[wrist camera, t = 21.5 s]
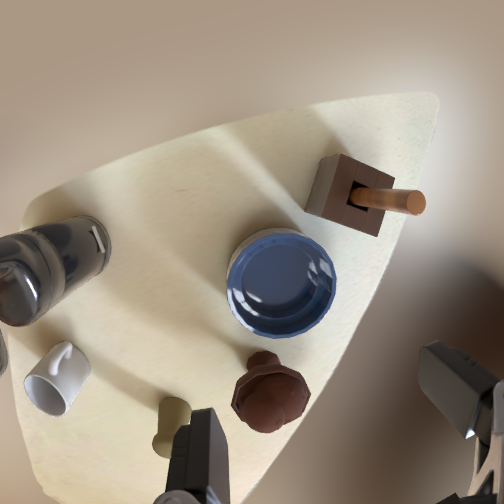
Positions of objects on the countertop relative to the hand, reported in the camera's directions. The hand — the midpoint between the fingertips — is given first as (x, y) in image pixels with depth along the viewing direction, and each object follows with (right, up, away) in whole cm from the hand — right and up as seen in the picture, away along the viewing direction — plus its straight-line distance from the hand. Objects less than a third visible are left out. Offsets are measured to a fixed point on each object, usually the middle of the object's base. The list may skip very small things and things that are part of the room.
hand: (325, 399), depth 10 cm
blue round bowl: (+1, +2, +35) cm, 35 cm away
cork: (-16, -23, +39) cm, 48 cm away
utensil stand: (+10, +14, +33) cm, 37 cm away
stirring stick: (+10, +14, +33) cm, 37 cm away
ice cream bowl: (-1, -13, +38) cm, 40 cm away
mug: (-34, -13, +35) cm, 51 cm away
